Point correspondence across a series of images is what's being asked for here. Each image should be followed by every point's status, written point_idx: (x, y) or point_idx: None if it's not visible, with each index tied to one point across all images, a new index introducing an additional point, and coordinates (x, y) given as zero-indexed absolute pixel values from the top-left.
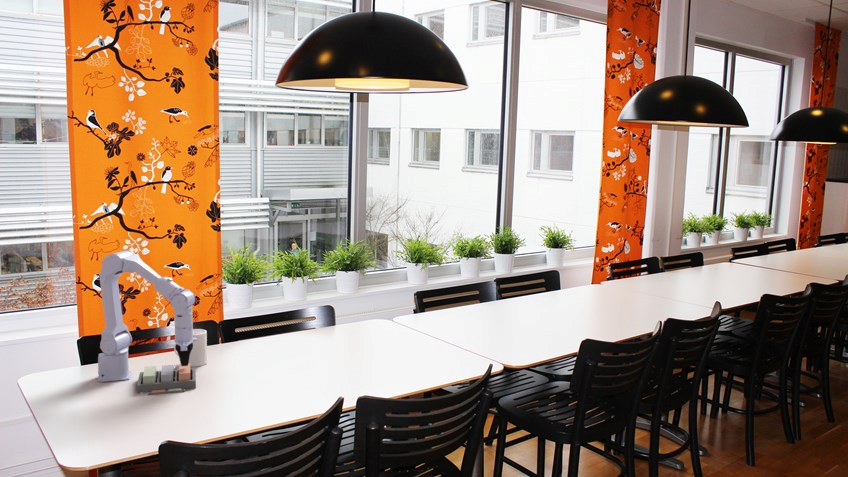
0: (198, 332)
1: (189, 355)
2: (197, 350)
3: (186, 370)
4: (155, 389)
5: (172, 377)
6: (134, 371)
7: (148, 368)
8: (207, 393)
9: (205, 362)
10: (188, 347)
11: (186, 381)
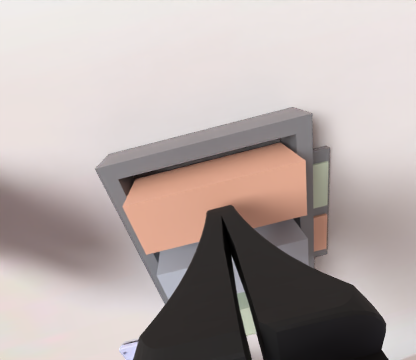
0: None
1: (273, 245)
2: None
3: (256, 192)
4: None
5: (299, 228)
6: (106, 340)
7: None
8: (381, 24)
9: None
10: (368, 348)
11: (312, 158)
